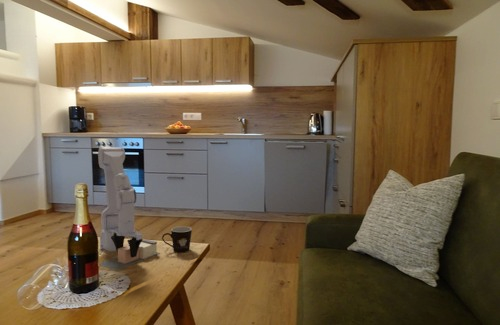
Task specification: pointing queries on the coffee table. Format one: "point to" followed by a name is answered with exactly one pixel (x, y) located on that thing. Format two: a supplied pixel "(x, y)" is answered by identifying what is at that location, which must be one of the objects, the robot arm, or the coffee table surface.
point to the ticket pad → (147, 248)
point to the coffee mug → (180, 239)
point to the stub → (126, 255)
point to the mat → (118, 265)
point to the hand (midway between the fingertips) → (126, 254)
